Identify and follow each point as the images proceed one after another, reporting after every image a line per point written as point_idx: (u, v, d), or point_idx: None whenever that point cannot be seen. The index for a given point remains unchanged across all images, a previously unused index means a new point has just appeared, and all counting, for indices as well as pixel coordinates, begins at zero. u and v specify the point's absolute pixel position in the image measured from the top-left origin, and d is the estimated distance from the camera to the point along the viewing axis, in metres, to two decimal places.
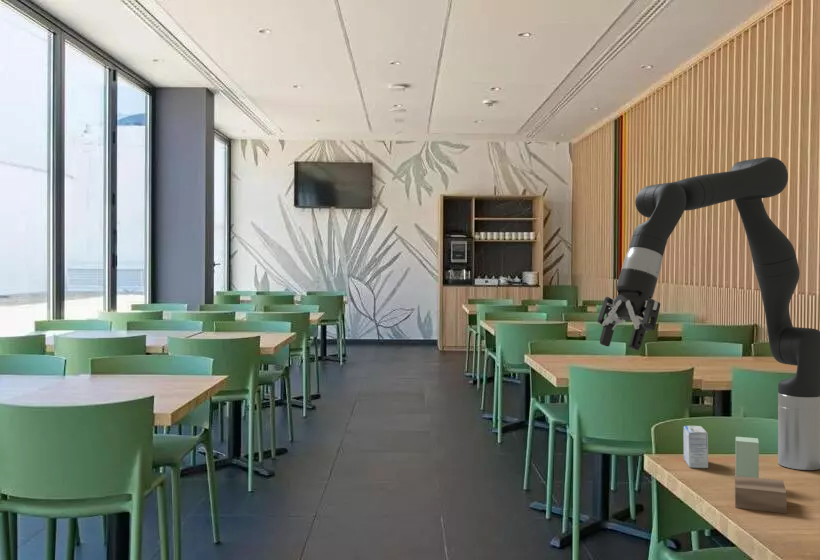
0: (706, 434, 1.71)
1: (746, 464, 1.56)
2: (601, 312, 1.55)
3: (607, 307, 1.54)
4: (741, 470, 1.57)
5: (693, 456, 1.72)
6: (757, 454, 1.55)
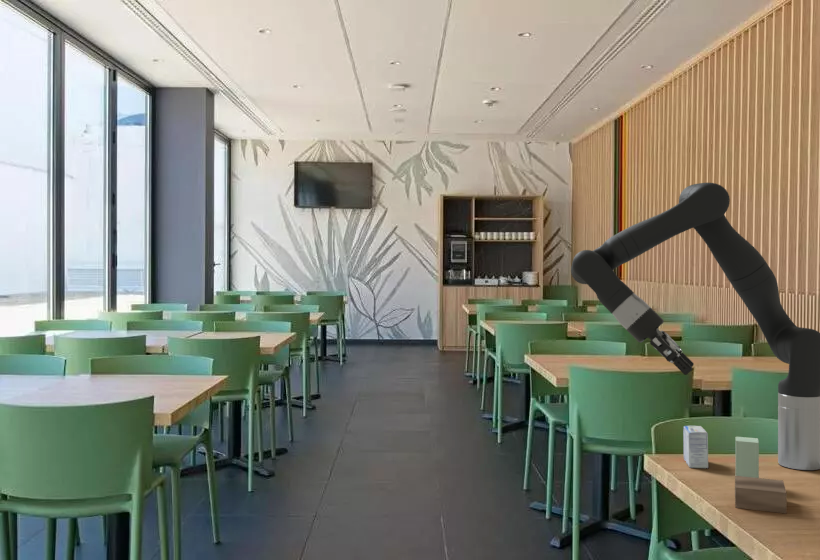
0: (706, 434, 1.71)
1: (746, 464, 1.56)
2: None
3: None
4: (742, 470, 1.57)
5: (693, 456, 1.72)
6: (757, 454, 1.55)
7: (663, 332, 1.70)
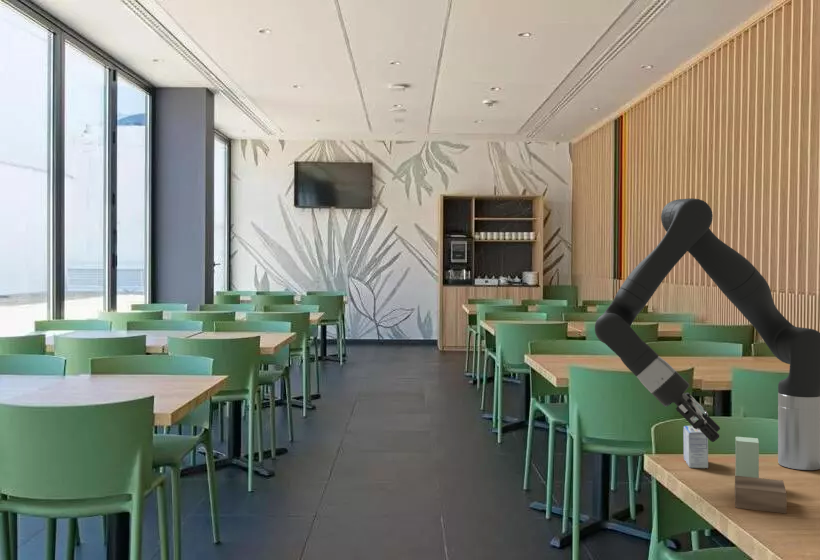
0: None
1: (746, 464, 1.56)
2: None
3: None
4: (742, 470, 1.57)
5: (693, 456, 1.72)
6: (757, 454, 1.55)
7: (688, 394, 1.68)
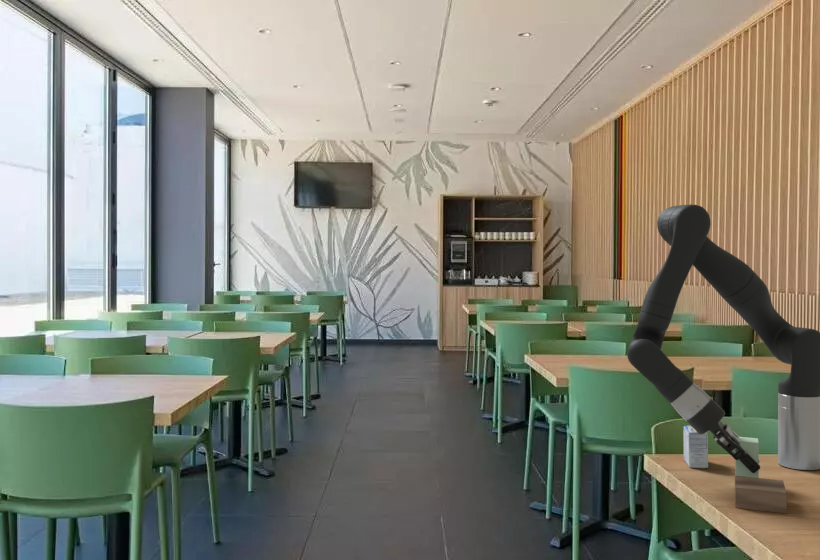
0: (706, 434, 1.71)
1: None
2: None
3: None
4: (741, 470, 1.57)
5: (693, 456, 1.72)
6: (757, 454, 1.55)
7: (726, 424, 1.65)
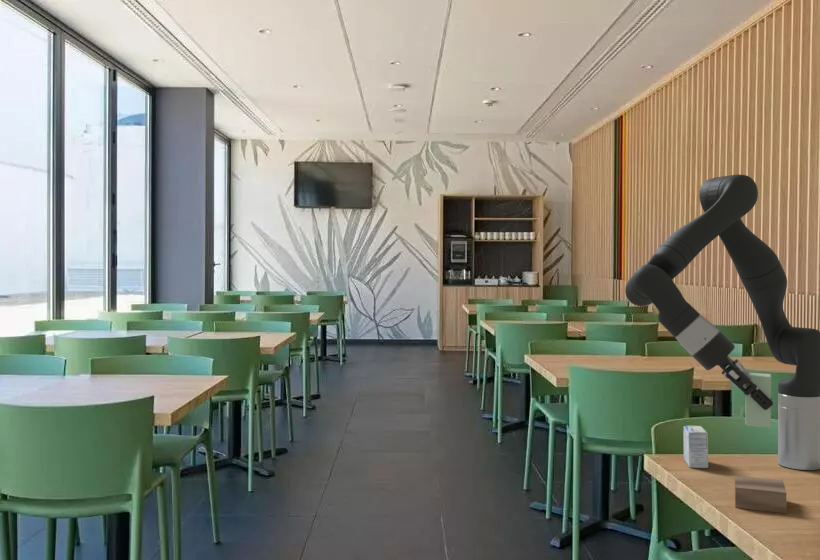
0: (706, 434, 1.71)
1: None
2: None
3: None
4: (752, 408, 1.44)
5: (693, 456, 1.72)
6: (769, 389, 1.43)
7: None
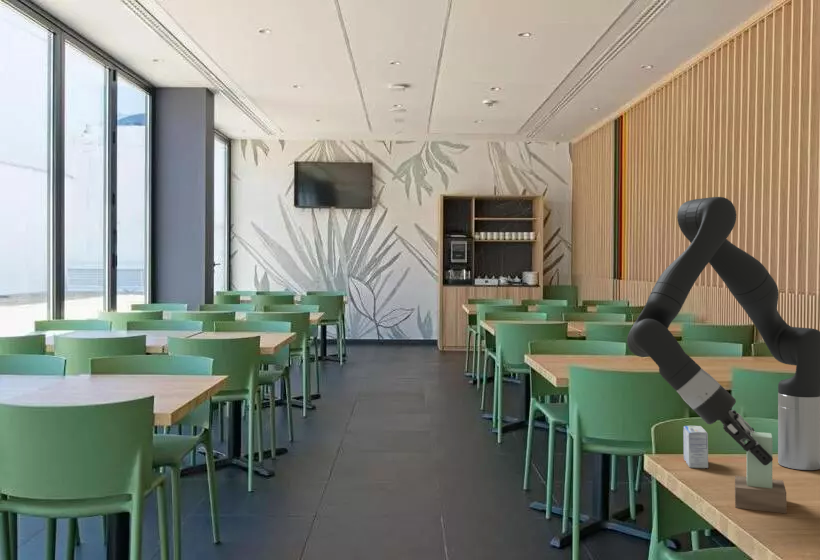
0: (706, 434, 1.71)
1: (758, 461, 1.43)
2: None
3: None
4: (753, 468, 1.44)
5: (693, 456, 1.72)
6: (770, 450, 1.43)
7: (734, 411, 1.53)
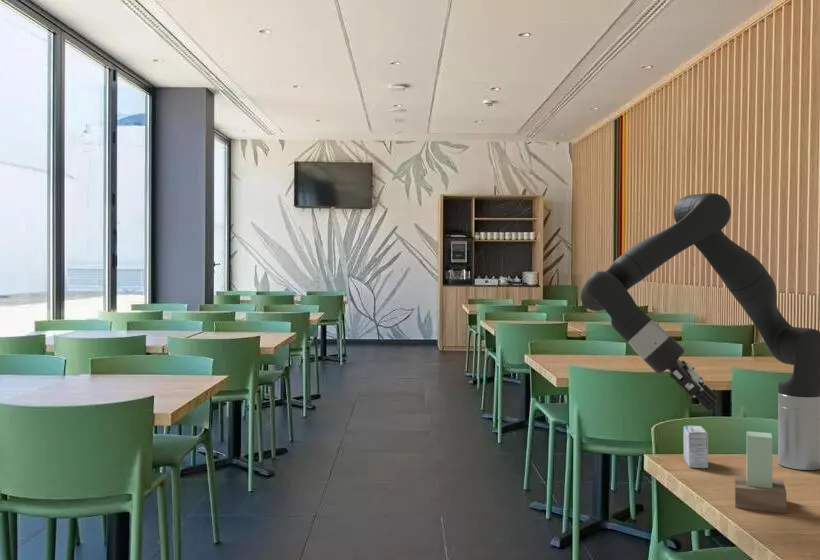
0: (706, 434, 1.71)
1: (758, 461, 1.43)
2: None
3: None
4: (753, 468, 1.44)
5: (693, 456, 1.72)
6: (770, 450, 1.43)
7: (683, 362, 1.56)
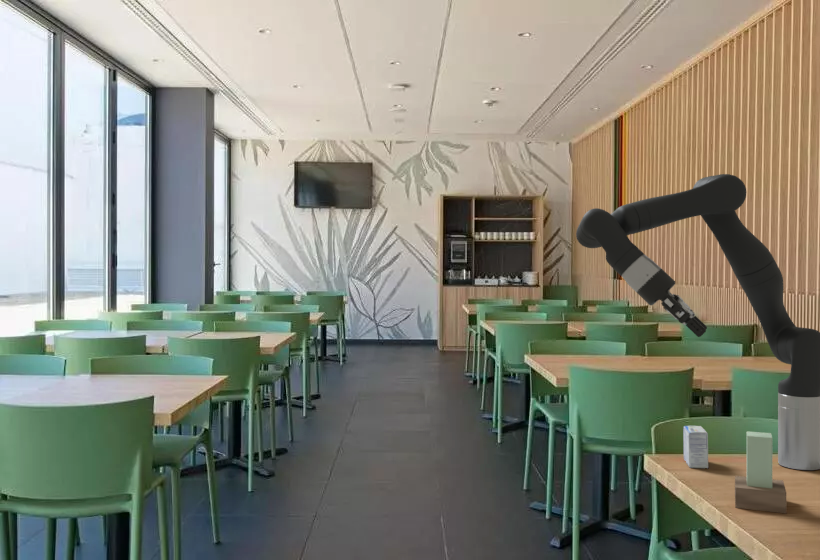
0: (706, 434, 1.71)
1: (758, 461, 1.43)
2: None
3: None
4: (753, 468, 1.44)
5: (693, 456, 1.72)
6: (770, 450, 1.43)
7: (675, 295, 1.64)
